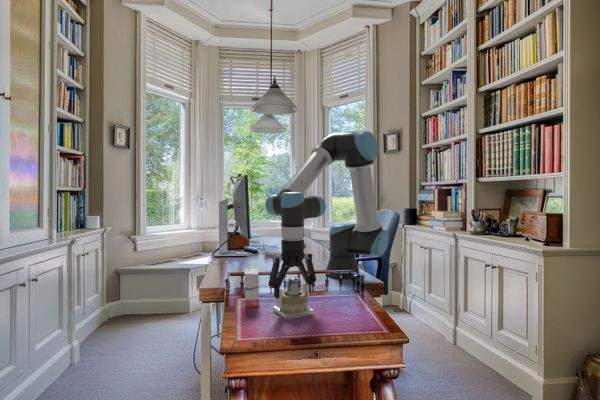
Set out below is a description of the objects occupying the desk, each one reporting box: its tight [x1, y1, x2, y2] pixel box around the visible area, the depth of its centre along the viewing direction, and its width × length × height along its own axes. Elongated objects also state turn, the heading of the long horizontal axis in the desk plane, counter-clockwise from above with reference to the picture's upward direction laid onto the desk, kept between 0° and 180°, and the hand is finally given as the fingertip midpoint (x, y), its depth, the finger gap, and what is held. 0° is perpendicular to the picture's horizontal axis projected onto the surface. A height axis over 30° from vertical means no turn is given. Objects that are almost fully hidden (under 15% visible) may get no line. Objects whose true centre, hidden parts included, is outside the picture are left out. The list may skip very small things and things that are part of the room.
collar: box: [281, 289, 308, 313], centre depth 143 cm, size 8×8×5 cm
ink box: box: [244, 268, 260, 308], centre depth 153 cm, size 9×5×12 cm, turn 5°
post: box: [272, 277, 315, 321], centre depth 143 cm, size 10×10×12 cm
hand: (293, 305), depth 143 cm, fingers open, 10 cm apart
